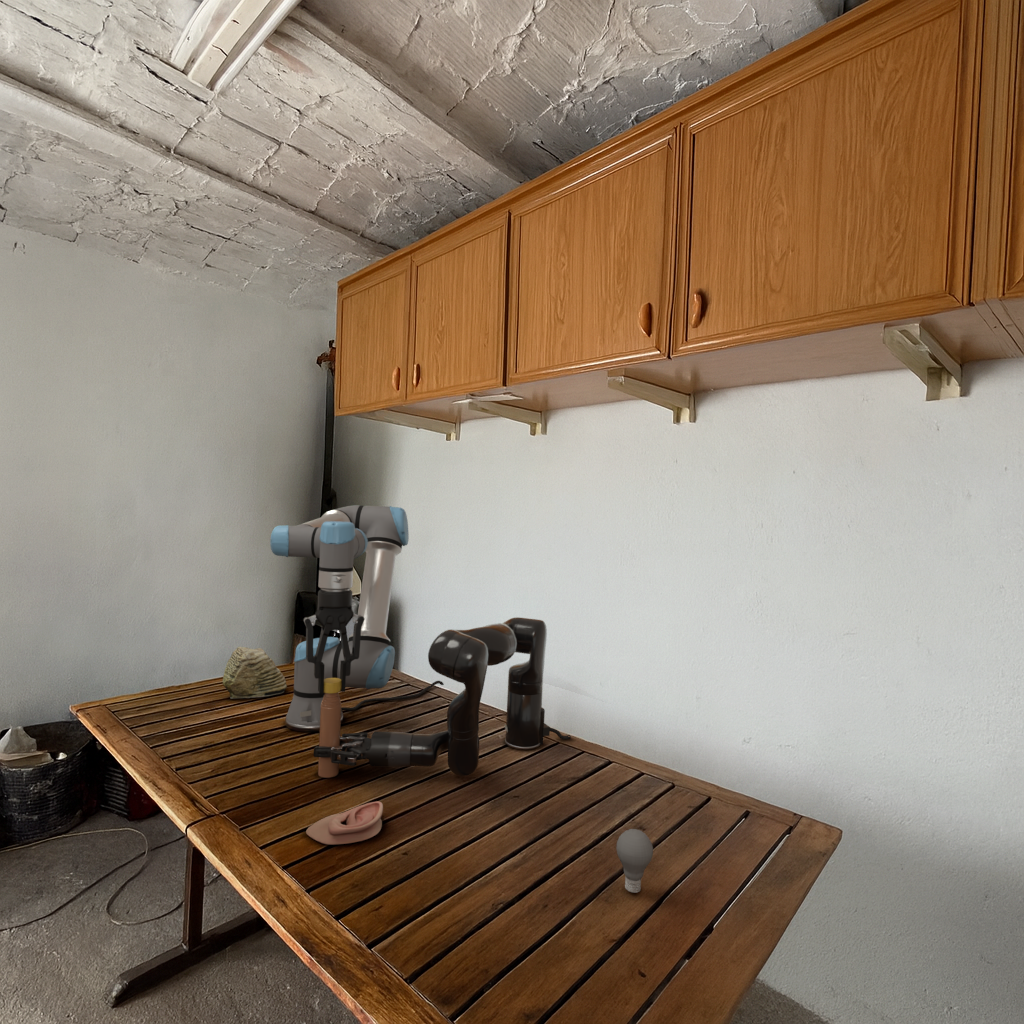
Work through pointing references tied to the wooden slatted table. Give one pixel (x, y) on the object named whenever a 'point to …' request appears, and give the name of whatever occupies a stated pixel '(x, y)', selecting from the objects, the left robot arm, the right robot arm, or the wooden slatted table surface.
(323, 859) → the wooden slatted table surface
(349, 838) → the anatomical model
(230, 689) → the fossil
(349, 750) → the right robot arm
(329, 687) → the cap
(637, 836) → the light bulb
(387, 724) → the wooden slatted table surface
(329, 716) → the bottle
